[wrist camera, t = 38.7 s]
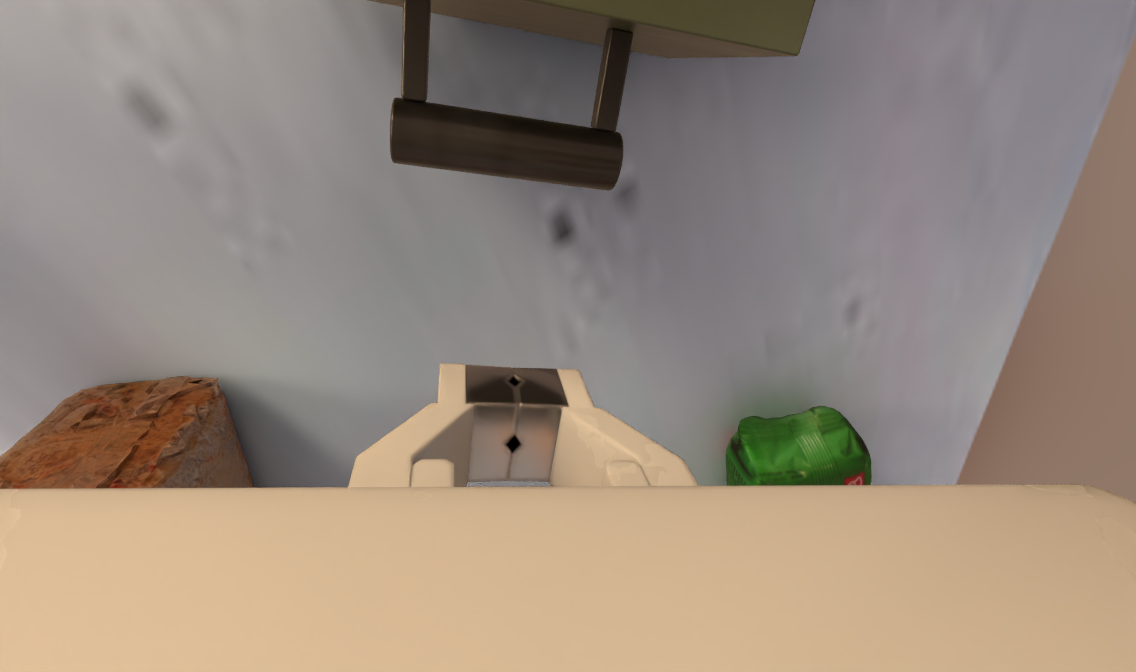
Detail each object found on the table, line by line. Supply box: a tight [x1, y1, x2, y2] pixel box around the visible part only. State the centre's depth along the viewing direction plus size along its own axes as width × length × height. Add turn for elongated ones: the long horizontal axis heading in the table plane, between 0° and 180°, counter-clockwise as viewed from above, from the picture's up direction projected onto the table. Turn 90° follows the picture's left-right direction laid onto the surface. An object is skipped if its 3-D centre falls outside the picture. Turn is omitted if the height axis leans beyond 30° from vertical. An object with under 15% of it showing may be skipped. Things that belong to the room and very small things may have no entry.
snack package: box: [726, 406, 871, 486], centre depth 31 cm, size 7×16×5 cm, turn 8°
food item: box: [0, 376, 254, 489], centre depth 22 cm, size 14×8×10 cm, turn 179°
